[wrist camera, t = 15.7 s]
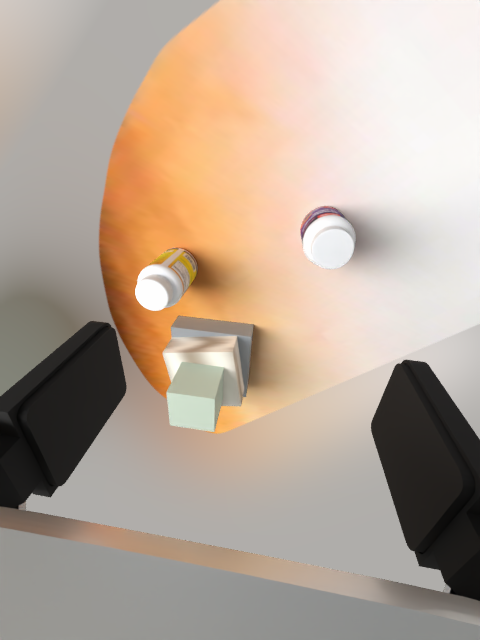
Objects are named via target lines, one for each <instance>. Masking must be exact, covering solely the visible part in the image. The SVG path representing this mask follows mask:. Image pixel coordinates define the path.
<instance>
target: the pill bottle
mask: <svg viewBox="0 0 480 640" xmlns="http://www.w3.org/2000/svg"><path fill="white" fill-rule="evenodd" d="M301 239H302V245H303V250H304V253H305V255H306V257H307V258H308V259H309V260H310V261H311V262H312V263H314V264H315V265H318V266H320V267H322V268H325V269H336V268H340V267H342V266H343V265H345V264H346V263H347V262H348V261H349V260H350V258H351V257H352V255H353V252H354V247H355V242H356V235H355V231H354V229H353V227H352V225H351V224H350V222H349V221H348V220H347V219H346V218H345V217H344V216H343V215H342V214H341V213H340V212H339V211H338V210H337V209H335V208H333V207H329V206H321V207H317V208H315V209H313V210H312V211H310V212H309V213H308V214H307V215H306V216H305V218H304V219H303V222H302V224H301Z"/></svg>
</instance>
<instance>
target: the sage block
mask: <svg viewBox="0 0 480 640" xmlns="http://www.w3.org/2000/svg"><path fill="white" fill-rule="evenodd" d="M223 377H224V367H218V366H211V365H203V364H195V363H188V362H181V364H180V366H179V368H178V370H177V372H176V374H175V376H174V378H173V380H172V382H171V384H170V386H169V388H168V390H167V401H168V411H169V420H170V425H172V426H179V427H185V428H192V429H198V430H205V431H211V432H214V431H215V427H216V423H217V419H218V415H219V412H220V408H221V404H222V400H223Z"/></svg>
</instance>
